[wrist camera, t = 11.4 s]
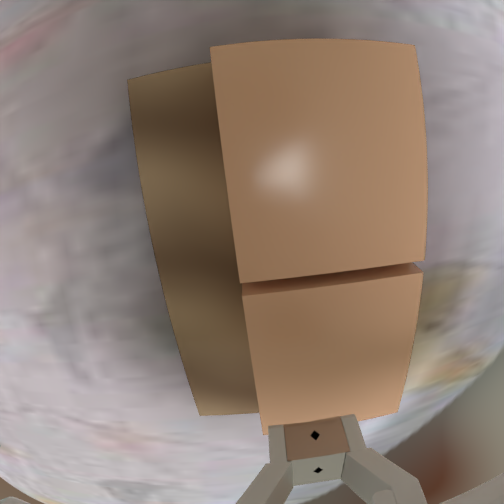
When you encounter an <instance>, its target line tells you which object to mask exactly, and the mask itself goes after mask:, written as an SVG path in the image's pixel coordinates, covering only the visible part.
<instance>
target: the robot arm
mask: <svg viewBox="0 0 504 504" xmlns="http://www.w3.org/2000/svg"><path fill="white" fill-rule="evenodd" d="M283 426H284V427H283ZM268 436H269V453H270V463H268V464H265V466H264V467H263V468H262V470H261V471H260V472H259V474H258V475H257V477H256V478H255V479H254V481H253V482H252V483H251V485H250V486H249V487H248V488H247V490H246V491H245V492H244V494H243V495H242V496H241V497H240V499H239V500H238V501H237V503H236V504H284V503H285V501H286V499H287V497H288V496H289V494H290V492H291V491H292V489H293V486H296V485H303V484H309V483H315V482H322V481H329V480H336V479H341V480H342V481H343V482H344V483H345V484H346V485H347V486H348V487H349V488H351V489H352V490H353V491H354V492H355V493H356V494H357V495H358V496H360V498H362V499H363V500H364V501H365V502H366V503H367V504H427V502H426V499H425V496H424V494H423V491H422V489H421V486H420V484H419V481H418V479H417V478H415V477H414V476H412V475H411V474H409V473H407V472H406V471H404V470H403V469H401V468H400V467H398V466H397V465H395V464H394V463H392V462H391V461H389V460H388V459H386V458H385V457H383V456H382V455H381V454H379V453H378V452H376V451H375V450H373V449H372V448H366V445H365V442H364V439H363V436H362V433H361V430H360V427H359V424H358V421H357V418H356V416H355V415H354V414H350V415H344V416H340V417H339V416H337V417H332V418H326V419H320V420H314V421H311V422H303V423H293V424H282V425H271V426H268ZM0 504H29V503H27V502H25V501H23V500H20V499H18V498H15V497H8V498H5V499H2V500H0ZM440 504H504V473H502V474H500V475H499V476H497V477H495V478H493V479H491V480H489V481H488V482H485V483H484V484H482V485H480V486H478V487H476V488H474V489H471V490H470V491H467V492H465V493H463V494H461V495H459V496H456V497H454V498H452V499H450V500H447V501H445V502H442V503H440Z"/></svg>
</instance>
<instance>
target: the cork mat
mask: <svg viewBox="0 0 504 504" xmlns="http://www.w3.org/2000/svg"><path fill="white" fill-rule="evenodd" d="M127 82H128V92H129V102H130V111H131V120H132V128H133V135H134V143H135V150H136V157H137V163H138V169H139V176H140V182H141V188H142V193H143V199H144V204H145V210H146V215H147V220H148V225H149V230H150V235H151V240H152V245H153V249H154V254H155V258H156V263H157V267H158V272H159V276H160V280H161V284H162V288H163V292H164V297H165V300H166V304H167V308H168V312H169V316H170V320H171V323H172V327H173V331H174V334H175V338H176V341H177V345H178V348H179V352H180V355H181V359H182V362H183V365H184V369H185V372H186V375H187V378H188V381H189V385H190V388H191V391H192V394H193V397H194V400H195V403H196V406H197V409H198V412H199V415H200V416H206V415H230V414H246V413H259V406H258V399H257V393H256V387H255V380H254V374H253V367H252V361H251V354H250V347H249V341H248V334H247V327H246V321H245V314H244V307H243V300H242V283H240V280H239V273H238V266H237V258H236V251H235V244H234V237H233V229H232V222H231V215H230V207H229V200H228V192H227V185H226V177H225V169H224V162H223V154H222V146H221V138H220V130H219V122H218V114H217V106H216V97H215V89H214V80H213V72H212V63H211V62H210V63H204V64H198V65H192V66H187V67H181V68H176V69H171V70H166V71H162V72H157V73H153V74H149V75H145V76H141V77H137V78H133V79H129V80H127Z"/></svg>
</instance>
